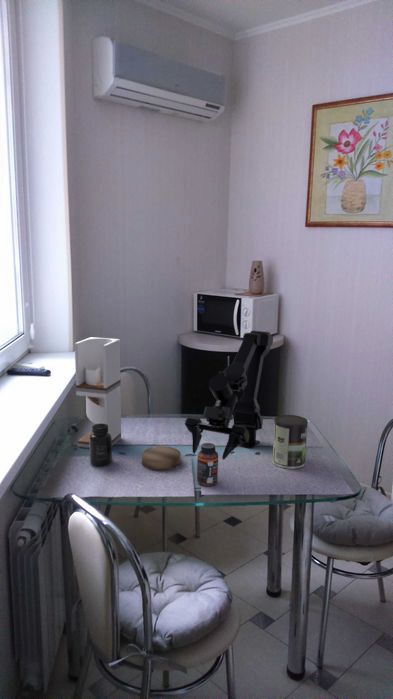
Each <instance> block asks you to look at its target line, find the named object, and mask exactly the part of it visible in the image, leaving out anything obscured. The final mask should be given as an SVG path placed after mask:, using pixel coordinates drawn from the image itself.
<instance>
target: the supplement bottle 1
mask: <svg viewBox="0 0 393 699" xmlns="http://www.w3.org/2000/svg"><path fill="white" fill-rule="evenodd" d="M89 447H90V448H89V463H90V465H91V466H94V467H100V468H101V467H106V466H109V465H111V464H112V461H113V446H112V436H111V434H110V433H108V425H107V424H95V423H94V424H93V425H92V434H91V435H90V437H89Z"/></svg>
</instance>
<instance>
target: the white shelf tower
mask: <svg viewBox="0 0 393 699" xmlns="http://www.w3.org/2000/svg"><path fill="white" fill-rule="evenodd" d="M74 360H75V363H74V364H75V390H76V391H75V395H76V396H81V397H82V396H83V397H85V405H86V408H85V410H86V416H87V419H89V421H90V422H92V423H93V424H94V425H95V424H107V425H108V433H110V434H111V436H112V447H113V446H114V445H115V444H116V443H118V442H119V441H120V440H121V439H122V402H121V401H122V397H121V396H122V395H121V394H122V392H121V390H122V388H121V386H122V385H121V381H122V380H121V377H122V376H121V339H120V338H110V337H107V338H106V337H96V336H95V337H92V336H91V337H88V338H85V339H82V340H79V341H77V342H75V343H74ZM91 434H92V430H90V431H89V432H88V433H86V434H85V435H84V436H82V437H80V438H79V439H78V440H77V448H78V447H79V448H86V449H90V447H89V437H90V435H91Z"/></svg>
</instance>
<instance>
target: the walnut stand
mask: <svg viewBox="0 0 393 699" xmlns="http://www.w3.org/2000/svg"><path fill="white" fill-rule="evenodd" d="M181 456H182V455H181V451H180V450H179V449H177V448H176V447H172V446H166V445H165V446H164V445H163V446H162V445H161V446H160V445H159V446H156V445H155V446H152V447H149V448H145V449H144V450H143V451H142V452H141V465H142V467H144V468H146V469H148V470H151V471H156V472H157V471H158V472H165V471H171V470H175V469H176V468H179V466H180V465H181V462H182V461H181V459H182V458H181Z"/></svg>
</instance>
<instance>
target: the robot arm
mask: <svg viewBox="0 0 393 699" xmlns="http://www.w3.org/2000/svg"><path fill="white" fill-rule="evenodd" d="M273 342H274V337H273V335H271V332H269V331H262V330H261V331H260V330H251V331H250V332H245V333H244V334H243V337H242V342H241V344H240V346H239V348H238V350H237V353H236V355H235V358H234V360H233V362H232V363H231V364H230V365H228V366H226V367H225V369H224V370H223V371H218V374H215V375H213V376H212V377H211V378H210V379H209V380H208V388H209V390H210V391H211V393H212V396H214V398H215V399H216V401H215V404H214V405H212V406H205V407H204V412H203V418H206V419H205V420H206V422H208V423H205V422H202V420H201V419H200V417H194V416H188V417H187V418H186V419H185V422H184V425H185V427H186V428H187V430H188V432H190V433H191V436H192V437H191V438H192V453H193V454H196V453H197V450H198V448H199V446H200V443H201V441H202V440H201V439H202V437H203V434H202V433H203V432H204V431H206V432H207V431H208V432H212V433H213V432H214V433H219V434H225V435H228V439H227V442H226V445H225V448H224V451H223V452H222V458H221V459H222V460H225V459H226V458H228V456H230V454H231V453H232V452H233V451H234V450H235V449H237V448H238V447H239V446H242V447H245V448H248V449H249V448H250V449H253V448H254V447H256V446H257V445H259V444H261V441H260V440H257V431H258V430H263V418H262V415H261V413H260V410H261V408H260V405H259V403H258V400H257V399H258V393H259V389H260V388H259V387H260V380H261V375H262V369H263V363H264V359H265V357H266V356H267V355H268V354H269V353H270V351H271V347H272V345H273ZM236 392H243V394H242V396H241V397H240V399H239V400H238V396H237V394H236ZM231 421H233V425H232V427H229V425H230V423H231Z"/></svg>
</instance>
